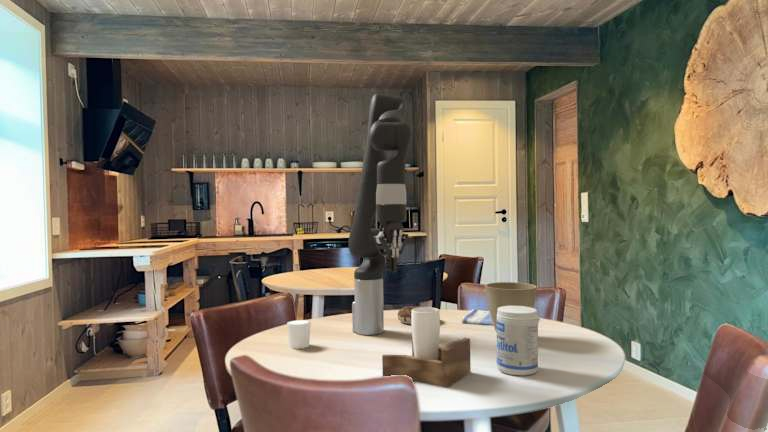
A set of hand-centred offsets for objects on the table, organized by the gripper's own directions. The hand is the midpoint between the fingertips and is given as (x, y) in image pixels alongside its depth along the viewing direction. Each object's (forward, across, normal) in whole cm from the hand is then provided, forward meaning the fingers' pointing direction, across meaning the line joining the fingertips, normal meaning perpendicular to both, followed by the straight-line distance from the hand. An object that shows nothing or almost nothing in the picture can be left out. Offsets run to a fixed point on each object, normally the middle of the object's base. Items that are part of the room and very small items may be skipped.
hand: (391, 272), depth 123 cm
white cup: (+24, -1, -33) cm, 41 cm away
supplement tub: (+23, -12, +28) cm, 38 cm away
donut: (+24, -46, -20) cm, 56 cm away
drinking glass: (+23, +1, +10) cm, 25 cm away
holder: (+23, +1, +11) cm, 26 cm away
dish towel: (+24, -62, +4) cm, 67 cm away
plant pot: (+23, -40, +16) cm, 49 cm away
